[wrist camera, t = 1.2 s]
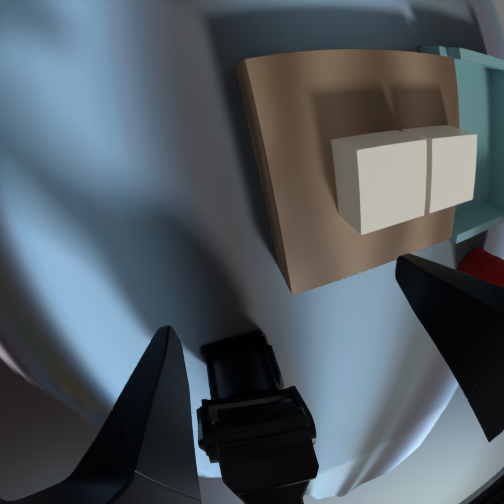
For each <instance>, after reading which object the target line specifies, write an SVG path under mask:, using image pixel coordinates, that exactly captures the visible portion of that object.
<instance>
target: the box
mask: <svg viewBox="0 0 504 504" xmlns="http://www.w3.org/2000/svg"><path fill="white" fill-rule="evenodd" d="M419 49H420V53H426V54H434V55H440V56H447V57H452V58H454V62H455V70H456V78H457V88H458V102H459V126H460V129H463V130H466V131H469V132H472V133H475V134H477V155H476V171H475V183H474V192H473V199H472V200H469V201H466V202H463V203H460V204H457V205H456V206H455V214H454V222H453V229H452V235H451V238H449V239H450V240H451V241H453V242H454V243H455V244H457V243H459V242H462V241H464V240H466V239H468V238H471V237H473V236H475V235H477V234H479V233H481V232H484V231H486V230H488V229H490V228H492V227H494V226H496V225H498V224H500V223H502V222H504V60H501V59H498V58H495V57H492V56H489V55H485V54H482V53H479V52H475V51H471V50H467V49H463V48H458V47H443V46H419Z"/></svg>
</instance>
